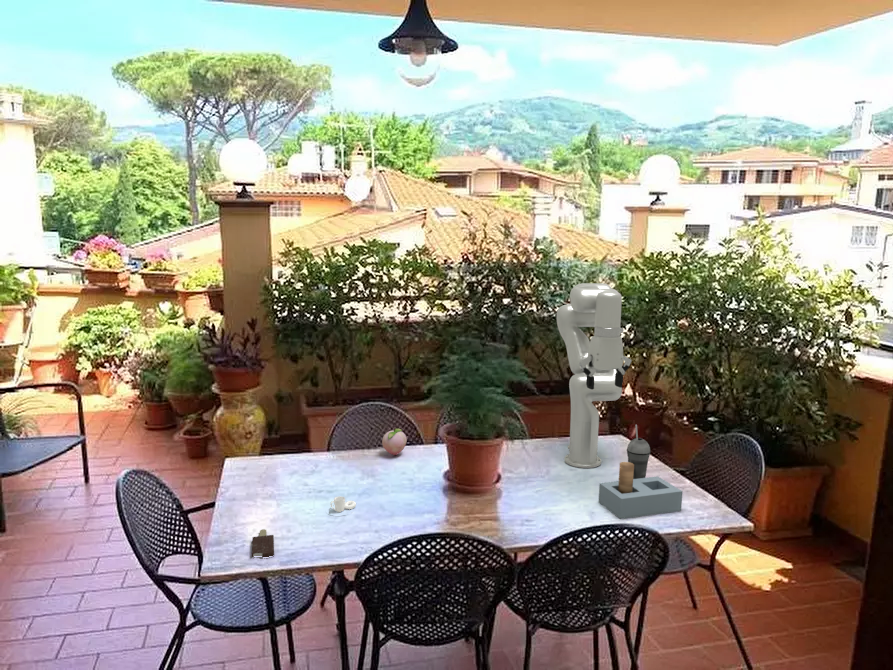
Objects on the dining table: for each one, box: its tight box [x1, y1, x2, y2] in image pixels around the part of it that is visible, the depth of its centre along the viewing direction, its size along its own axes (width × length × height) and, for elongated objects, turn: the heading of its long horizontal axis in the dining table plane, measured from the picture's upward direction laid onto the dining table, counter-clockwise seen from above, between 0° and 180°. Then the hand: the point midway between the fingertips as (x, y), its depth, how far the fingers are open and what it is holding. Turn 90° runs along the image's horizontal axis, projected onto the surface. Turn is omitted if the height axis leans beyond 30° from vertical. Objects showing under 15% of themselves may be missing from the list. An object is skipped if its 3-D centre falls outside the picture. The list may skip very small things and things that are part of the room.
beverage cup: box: [626, 424, 651, 479], centre depth 210 cm, size 7×7×20 cm
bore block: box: [598, 475, 684, 520], centre depth 196 cm, size 12×20×6 cm, turn 107°
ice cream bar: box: [251, 528, 275, 558], centre depth 171 cm, size 5×2×15 cm
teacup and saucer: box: [330, 496, 357, 513], centre depth 192 cm, size 9×8×4 cm
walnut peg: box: [618, 461, 634, 494], centre depth 194 cm, size 4×4×12 cm
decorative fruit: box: [381, 427, 408, 456], centre depth 237 cm, size 9×8×10 cm
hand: (604, 387), depth 205 cm, fingers open, 9 cm apart
